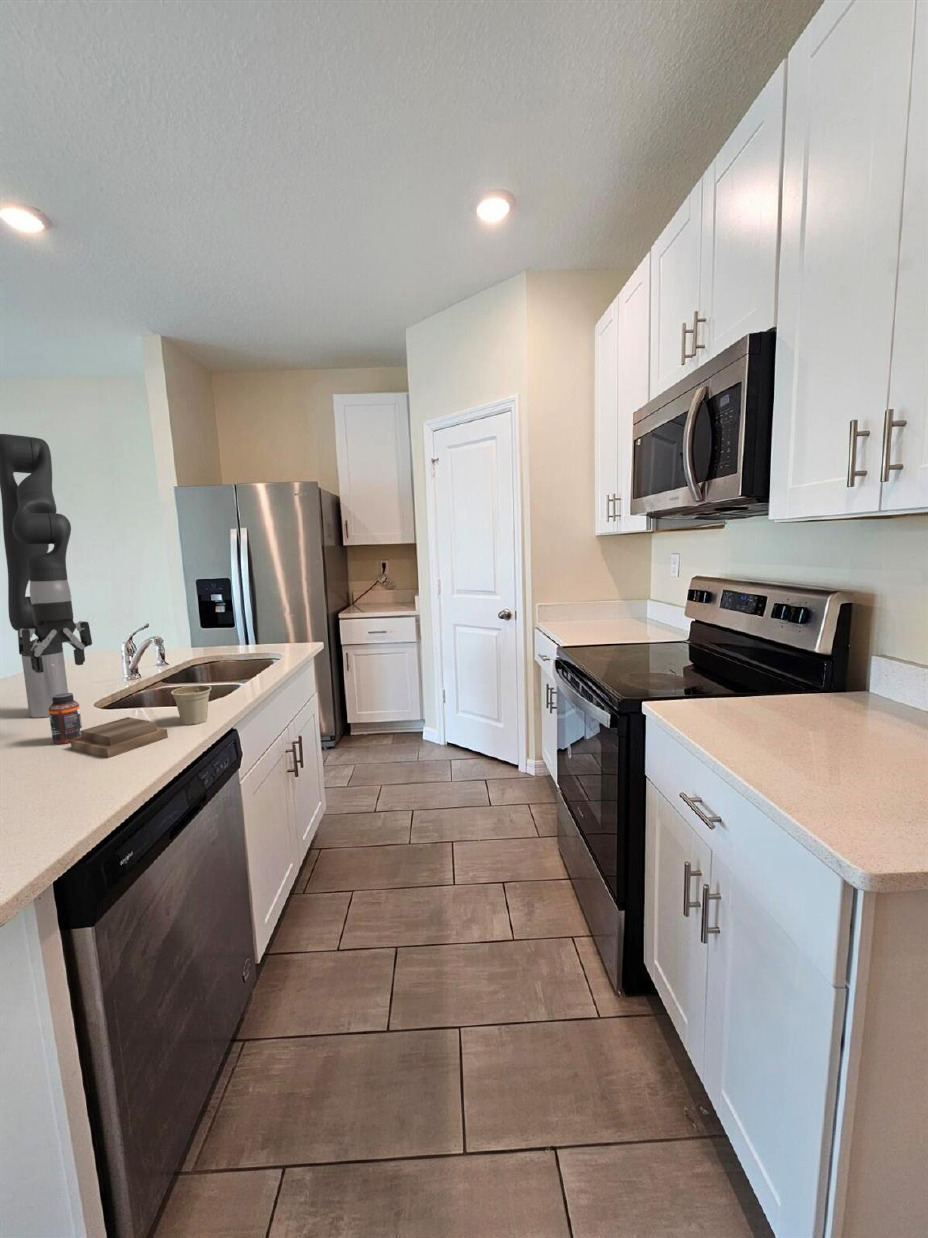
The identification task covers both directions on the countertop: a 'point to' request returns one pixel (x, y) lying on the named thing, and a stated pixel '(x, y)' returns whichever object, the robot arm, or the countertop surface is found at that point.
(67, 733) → the supplement bottle
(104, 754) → the base
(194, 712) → the flower pot
